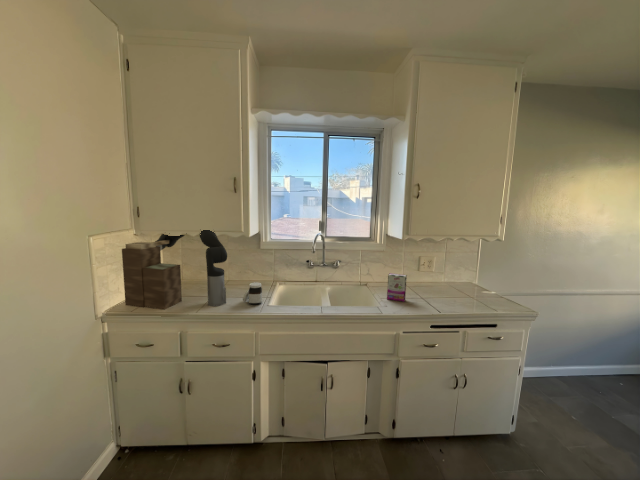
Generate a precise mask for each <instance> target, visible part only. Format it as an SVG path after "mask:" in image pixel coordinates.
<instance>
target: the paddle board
mask: <svg viewBox="0 0 640 480" xmlns="http://www.w3.org/2000/svg"><path fill="white" fill-rule="evenodd" d="M156 241H157V240H156ZM163 244H169V241H167V240H163V241H157V242H155V241H153V242H152V241H151V242H150V241H137V242H129V243H125V248H126V249H139V250H142V249H147V248H153V247H156V246H158V245H163Z"/></svg>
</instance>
